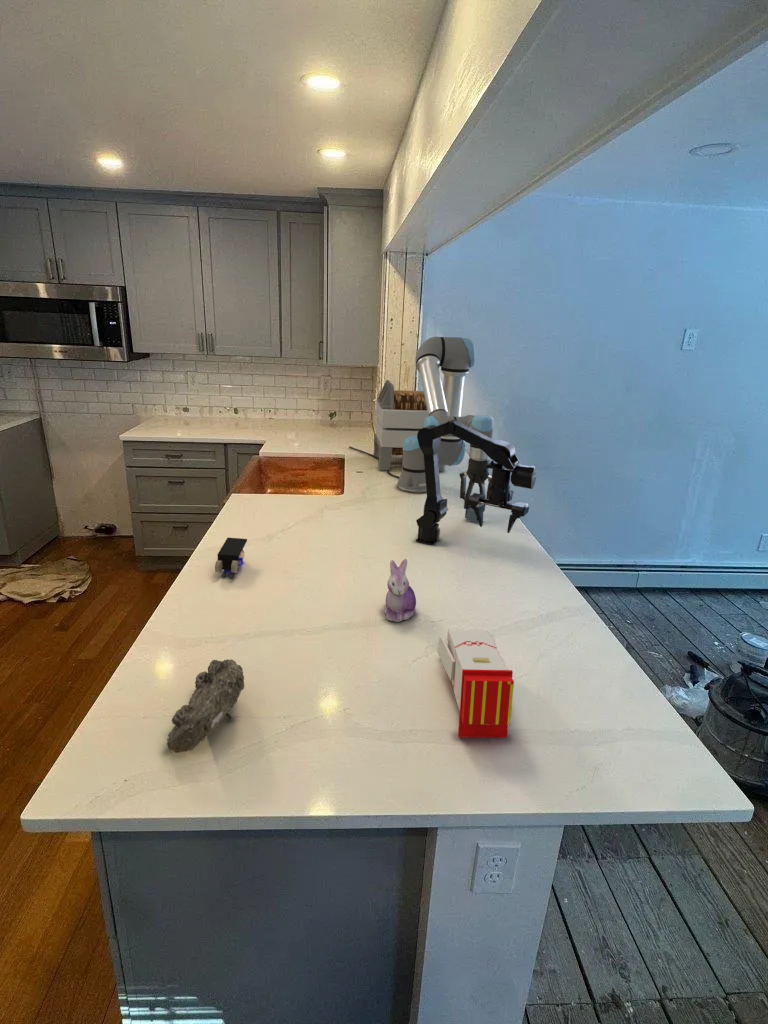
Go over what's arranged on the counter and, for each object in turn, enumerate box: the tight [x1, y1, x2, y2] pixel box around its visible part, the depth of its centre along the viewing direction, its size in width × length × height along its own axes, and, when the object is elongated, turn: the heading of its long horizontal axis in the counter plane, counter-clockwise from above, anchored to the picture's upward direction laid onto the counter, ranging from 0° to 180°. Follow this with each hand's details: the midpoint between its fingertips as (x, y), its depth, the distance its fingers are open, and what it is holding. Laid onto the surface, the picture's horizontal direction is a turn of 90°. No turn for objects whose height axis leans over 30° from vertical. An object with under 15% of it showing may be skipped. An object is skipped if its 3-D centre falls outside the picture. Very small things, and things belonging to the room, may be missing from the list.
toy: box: [437, 628, 515, 738], centre depth 117 cm, size 12×13×30 cm
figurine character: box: [214, 537, 248, 578], centre depth 166 cm, size 7×8×15 cm
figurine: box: [384, 558, 417, 623], centre depth 145 cm, size 9×10×15 cm
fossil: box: [166, 658, 245, 754], centre depth 106 cm, size 22×10×15 cm
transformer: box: [372, 379, 446, 472], centre depth 285 cm, size 34×33×41 cm
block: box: [465, 507, 478, 523], centre depth 214 cm, size 4×4×4 cm
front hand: (494, 529), depth 182 cm, fingers open, 9 cm apart
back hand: (473, 518), depth 215 cm, fingers closed on block, 4 cm apart
